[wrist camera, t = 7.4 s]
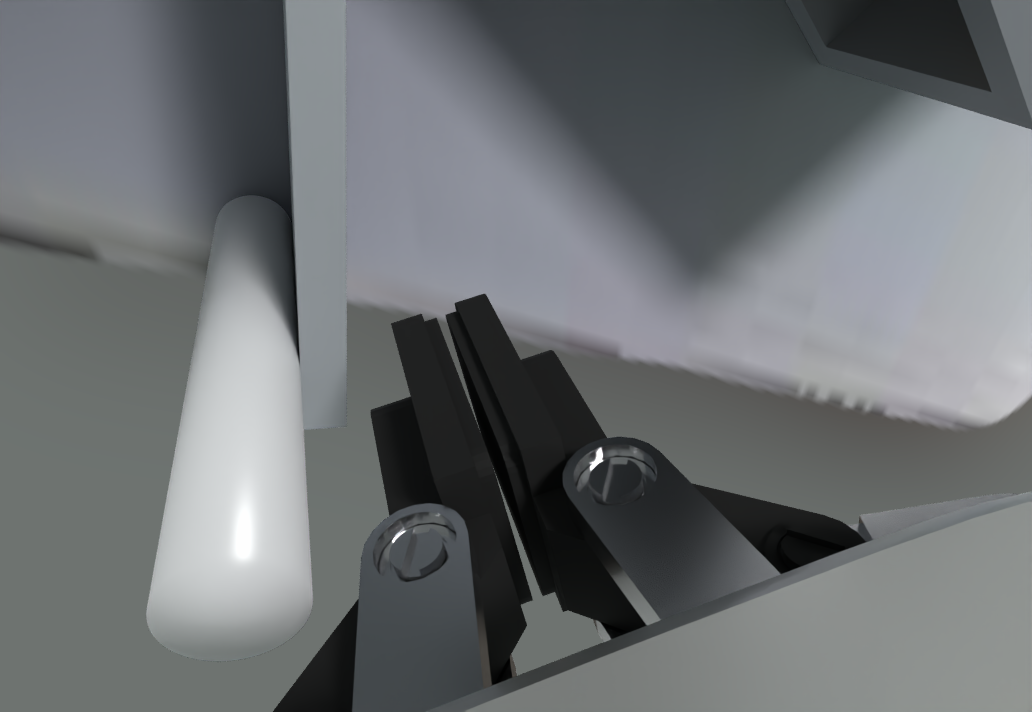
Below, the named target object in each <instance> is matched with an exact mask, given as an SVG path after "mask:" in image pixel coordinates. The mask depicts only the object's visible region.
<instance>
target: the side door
mask: <svg viewBox="0 0 1032 712" xmlns="http://www.w3.org/2000/svg"><path fill="white" fill-rule="evenodd" d="M283 13H284V37H285V61H286V85H287V110H288V134H289V158H290V182H291V206H292V224H291V221H290V218H289V217H288V215H287V213H286V212H285V211H284V209H283V208H282V207H281V206H279V205H278V204H277V203H275V202H274V201H272V200H270V199H268V198H265V197H262V196H256V195H246V196H241V197H238V198H235V199H233V200H231V201H229V202H228V203H227V204H226V205H224V207H223V208H222V209H221V210H220V212H219V214H218V216H217V219H216V223H215V229H214V235H213V240H212V246H211V251H210V257H209V263H208V268H207V274H206V280H205V285H204V291H203V296H202V302H201V308H200V313H199V319H198V324H197V330H196V336H195V342H194V347H193V352H192V358H191V364H190V369H189V375H188V380H187V386H186V392H185V397H184V403H183V409H182V414H181V420H180V425H179V431H178V436H177V442H176V448H175V453H174V459H173V465H172V470H171V476H170V482H169V487H168V493H167V498H166V504H165V509H164V516H163V521H162V527H161V532H160V537H159V543H158V549H157V554H156V561H155V566H154V571H153V577H152V582H151V589H150V594H149V599H148V605H147V612H146V618H147V624H148V627H149V630H150V632H151V633H152V635H153V636H154V638H155V639H156V640H157V641H158V642H159V643H160V644H161V645H163V646H164V647H165V648H167V649H169V650H170V651H172V652H174V653H177V654H179V655H182V656H185V657H187V658H192V659H196V660H203V661H215V662H221V661H235V660H241V659H246V658H250V657H254V656H258V655H261V654H263V653H266V652H268V651H271V650H273V649H275V648H277V647H279V646H280V645H282V644H284V643H285V642H287V641H288V640H290V639H291V638H292V637H294V636H295V635H296V634H297V633H298V632H299V631H300V630H301V629H302V627H303V626H304V625H305V623H306V621H307V620H308V618H309V616H310V614H311V611H312V607H313V589H312V571H311V554H310V535H309V517H308V499H307V481H306V463H305V445H304V430H307V429H321V428H336V427H346V426H347V418H346V417H347V415H346V414H347V378H346V376H347V370H346V369H347V363H346V362H347V361H346V360H347V359H346V357H347V355H346V354H347V353H346V352H347V346H346V343H347V342H346V340H347V335H346V334H347V328H346V327H347V321H346V320H347V317H346V314H347V313H346V0H283Z"/></svg>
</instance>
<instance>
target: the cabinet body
mask: <svg viewBox="0 0 1032 712" xmlns="http://www.w3.org/2000/svg"><path fill="white" fill-rule="evenodd" d="M785 1H786V3H787V5H788V7H789V9H790V10H791V12H792V14H793V16H794V18H795V20H796V21H797V23H798V25H799V27H800V29H801V31H802V33H803V34H804V36H805V38H806V40H807V42H808V44H809V45H810V47H811V49H812V51H813V53H814V55H815V56H816V58H817V60H818V62H819V64H821V65H824V66H827V67H831V68H834V69H837V70H840V71H844V72H847V73H850V74H853V75H857V76H860V77H863V78H866V79H870V80H873V81H876V82H879V83H883V84H886V85H889V86H892V87H896V88H899V89H902V90H905V91H909V92H912V93H915V94H918V95H922V96H925V97H928V98H931V99H935V100H938V101H941V102H944V103H948V104H951V105H954V106H957V107H961V108H964V109H967V110H970V111H974V112H977V113H980V114H983V115H987V116H990V117H993V118H996V119H1000V120H1003V121H1006V122H1009V123H1013V124H1016V125H1019V126H1022V127H1026V128H1029V129H1032V0H785Z"/></svg>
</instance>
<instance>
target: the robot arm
mask: <svg viewBox="0 0 1032 712" xmlns="http://www.w3.org/2000/svg"><path fill="white" fill-rule="evenodd" d="M455 307H456V312H453V313H450V314H447V315H446V319H447V323H448V326H449V329H450V333H451V336H452V339H453V342H454V346H455V349H456V352H457V356H458V359H459V362H460V366H461V369H462V372H463V376H464V379H465V382H466V385H467V389H468V392H469V395H470V399H471V402H472V406H473V409H474V412H475V415H476V418H477V422H478V425H479V428H478V425H477V422H476V420H475V417H474V415H473V412H472V409H471V407H470V404H469V402H468V399H467V396H466V394H465V391H464V389H463V386H462V383H461V381H460V378H459V375H458V373H457V370H456V368H455V365H454V362H453V360H452V357H451V355H450V352H449V349H448V347H447V344H446V342H445V339H444V336H443V334H442V331H441V328H440V326H439V323H438V321H437V318H434V319H431V320H428V321H425V322H424V319H423V316H422V314H419V315H416V316H413V317H410V318H407V319H404V320H400V321H397V322H394V323H391V325H392V329H393V333H394V336H395V340H396V343H397V347H398V351H399V355H400V358H401V362H402V366H403V369H404V373H405V377H406V380H407V384H408V388H409V391H410V395H411V397H408V398H405V399H402V400H399V401H396V402H393V403H391V404H387V405H384V406H381V407H378V408H375V409H372V410H371V418H372V424H373V430H374V435H375V440H376V445H377V451H378V456H379V462H380V467H381V473H382V478H383V483H384V489H385V494H386V499H387V505H388V510H389V517H387V518H386V519H384V520H383V521H382V522H381V523H380V524H379V525H378V526H377V527H376V528H375V529H374V530H373V531H372V533H371V534H370V536H369V538H368V539H367V541H366V542H365V544H364V548H363V552H362V557H361V569H360V586H359V587H360V588H359V599H358V600H357V601H356V603H355V604H354V606H353V607H352V608H351V609H350V611H349V612H348V614H347V615H346V616H345V617H344V619H343V620H342V621H341V623H340V624H339V625H338V626H337V628H336V629H335V630H334V632H333V633H332V634H331V636H330V637H329V638H328V640H327V641H326V642H325V644H324V645H323V646H322V648H321V649H320V650H319V652H318V653H317V654H316V656H315V657H314V658H313V659H312V661H311V662H310V663H309V665H308V666H307V667H306V669H305V670H304V671H303V673H302V674H301V675H300V677H299V678H298V679H297V681H296V682H295V683H294V684H293V686H292V687H291V688H290V690H289V691H288V692H287V694H286V695H285V696H284V698H283V699H282V700H281V702H280V703H279V704H278V706H277V707H276V708H275V709H274V711H273V712H1032V492H1027V493H1024V494H992V495H986V496H979V497H973V498H966V499H960V500H954V501H947V502H941V503H935V504H928V505H922V506H916V507H909V508H903V509H896V510H890V511H884V512H878V513H871V514H865V515H860V516H859V523H858V524H853V525H846V524H844V523H843V522H841V521H838V520H836V519H833V518H830V517H827V516H825V515H820V514H817V513H813V512H809V511H804V510H800V509H796V508H792V507H788V506H783V505H779V504H775V503H771V502H767V501H763V500H758V499H754V498H750V497H746V496H742V495H738V494H734V493H729V492H725V491H721V490H717V489H712V488H709V487H704V486H700V485H696V484H692V483H690V482H689V481H688V480H687V478H685V477H684V475H683V474H681V473H680V472H679V470H678V469H677V468H676V467H675V466H674V465H673V464H672V463H670V461H669V460H668V459H667V458H666V457H665V456H664V455H663V454H662V453H661V452H660V451H659V450H657V449H656V448H654V447H653V446H652V445H650V444H649V443H646V442H644V441H641V440H638V439H635V438H627V437H612V438H607V437H606V435H605V434H604V432H603V431H602V429H601V427H600V426H599V424H598V422H597V421H596V419H595V417H594V416H593V414H592V412H591V411H590V409H589V408H588V406H587V404H586V403H585V401H584V399H583V398H582V396H581V395H580V393H579V391H578V390H577V388H576V386H575V385H574V383H573V382H572V380H571V378H570V377H569V375H568V373H567V372H566V370H565V368H564V367H563V365H562V363H561V362H560V360H559V359H558V357H557V355H556V354H555V353H554V351H552V350H549V351H546V352H543V353H540V354H537V355H534V356H531V357H528V358H525V359H522V360H520V358H519V356H518V354H517V352H516V350H515V348H514V347H513V345H512V343H511V341H510V339H509V337H508V335H507V333H506V331H505V330H504V328H503V326H502V324H501V322H500V320H499V318H498V316H497V314H496V313H495V311H494V309H493V307H492V305H491V303H490V301H489V299H488V297H487V296H486V294H482V295H478V296H475V297H472V298H469V299H466V300H463V301H460V302H457V303H455ZM479 429H480V430H479ZM480 432H481V433H480ZM481 435H482V436H481ZM492 465H493V466H492ZM493 468H494V469H493ZM494 471H495V472H494ZM495 473H496V475H495ZM496 476H497V478H498V481H499V484H500V486H501V489H502V492H503V494H504V496H505V499H506V502H507V505H508V507H509V510H510V512H511V515H512V518H513V520H514V523H515V525H516V528H517V531H518V533H519V536H520V538H521V541H522V544H523V546H524V549H525V552H526V554H527V557H528V560H529V562H530V565H531V567H532V570H533V573H534V575H535V578H536V580H537V583H538V585H539V588H540V591H541V593H542V595H543V596H544V595H547V594H550V593H553V592H555V593H556V595H557V598H558V600H559V603H560V605H561V608H562V610H563V612H564V611H567V610H569V611H572V612H574V613H577V614H580V615H583V616H586V617H589V618H591V619H593V622H594V625H595V627H596V629H597V632H598V634H599V636H600V637H601V639H602V640H603V643H601V644H598V645H596V646H593V647H590V648H588V649H585V650H583V651H580V652H578V653H575V654H572V655H570V656H568V657H565V658H562V659H560V660H557V661H554V662H552V663H549V664H547V665H544V666H541V667H539V668H537V669H534V670H531V671H529V672H526V673H523V674H521V675H518V676H517V673H516V666H515V663H514V660H513V657H512V654H511V653H512V652H513V650H514V648H515V646H516V644H517V643H518V641H519V639H520V637H521V635H522V633H523V632H524V630H525V628H526V626H527V624H526V621H525V618H524V614H523V611H522V608H521V604H524V603H526V602H529V601H532V596H531V592H530V589H529V585H528V582H527V579H526V576H525V572H524V569H523V565H522V562H521V559H520V555H519V552H518V549H517V545H516V542H515V539H514V535H513V532H512V529H511V526H510V522H509V519H508V516H507V512H506V509H505V506H504V502H503V499H502V495H501V492H500V488H499V486H498V482H497V478H496Z"/></svg>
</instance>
